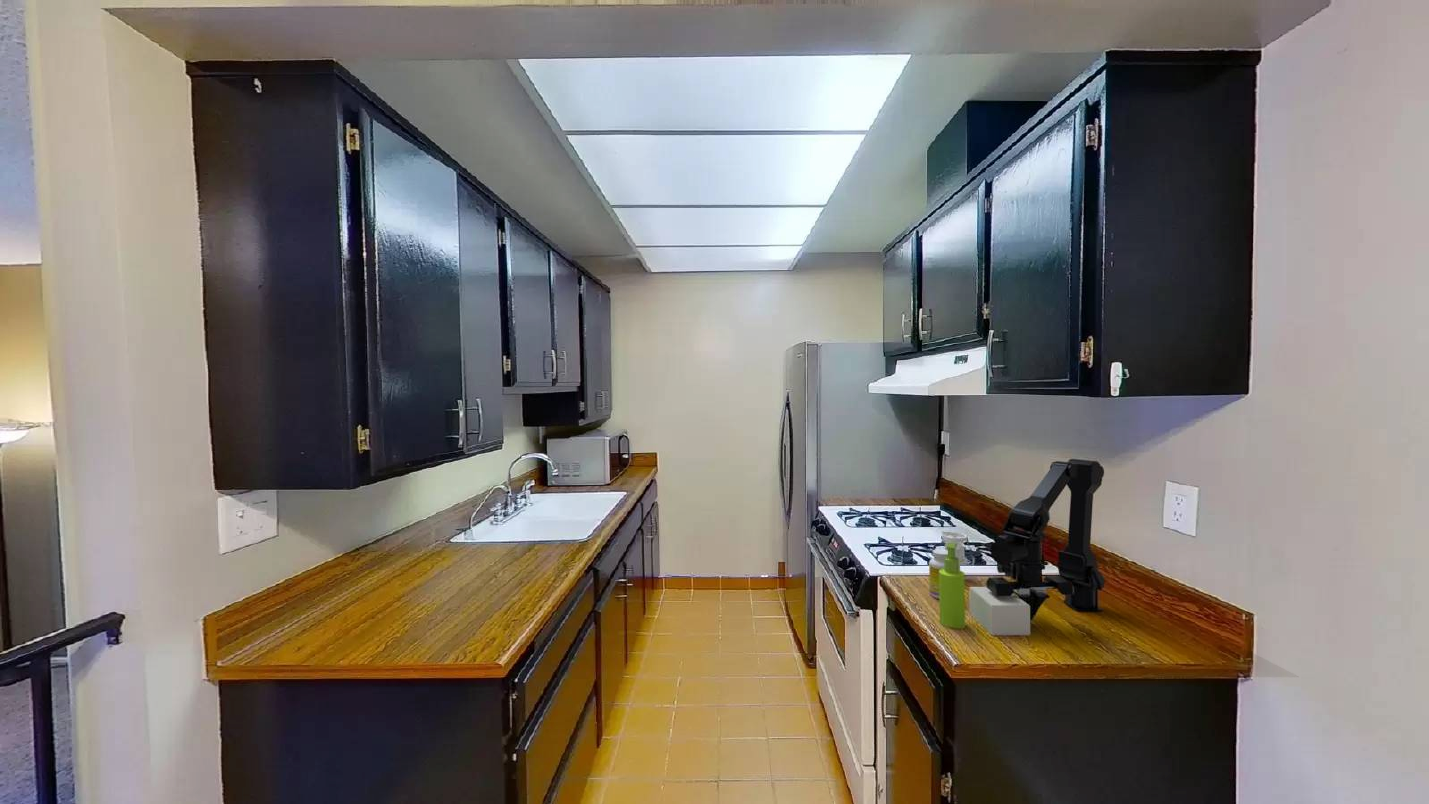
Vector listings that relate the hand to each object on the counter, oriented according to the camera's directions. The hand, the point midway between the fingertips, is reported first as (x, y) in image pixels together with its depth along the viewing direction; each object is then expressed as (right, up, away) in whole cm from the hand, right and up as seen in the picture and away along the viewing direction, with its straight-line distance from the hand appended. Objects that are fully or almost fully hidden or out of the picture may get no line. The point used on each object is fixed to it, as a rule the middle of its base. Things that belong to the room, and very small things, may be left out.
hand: (1029, 619), depth 131 cm
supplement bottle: (-14, -1, +19) cm, 23 cm away
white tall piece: (-4, -1, +31) cm, 32 cm away
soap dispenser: (-19, -2, +2) cm, 19 cm away
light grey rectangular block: (-8, -1, 0) cm, 8 cm away
